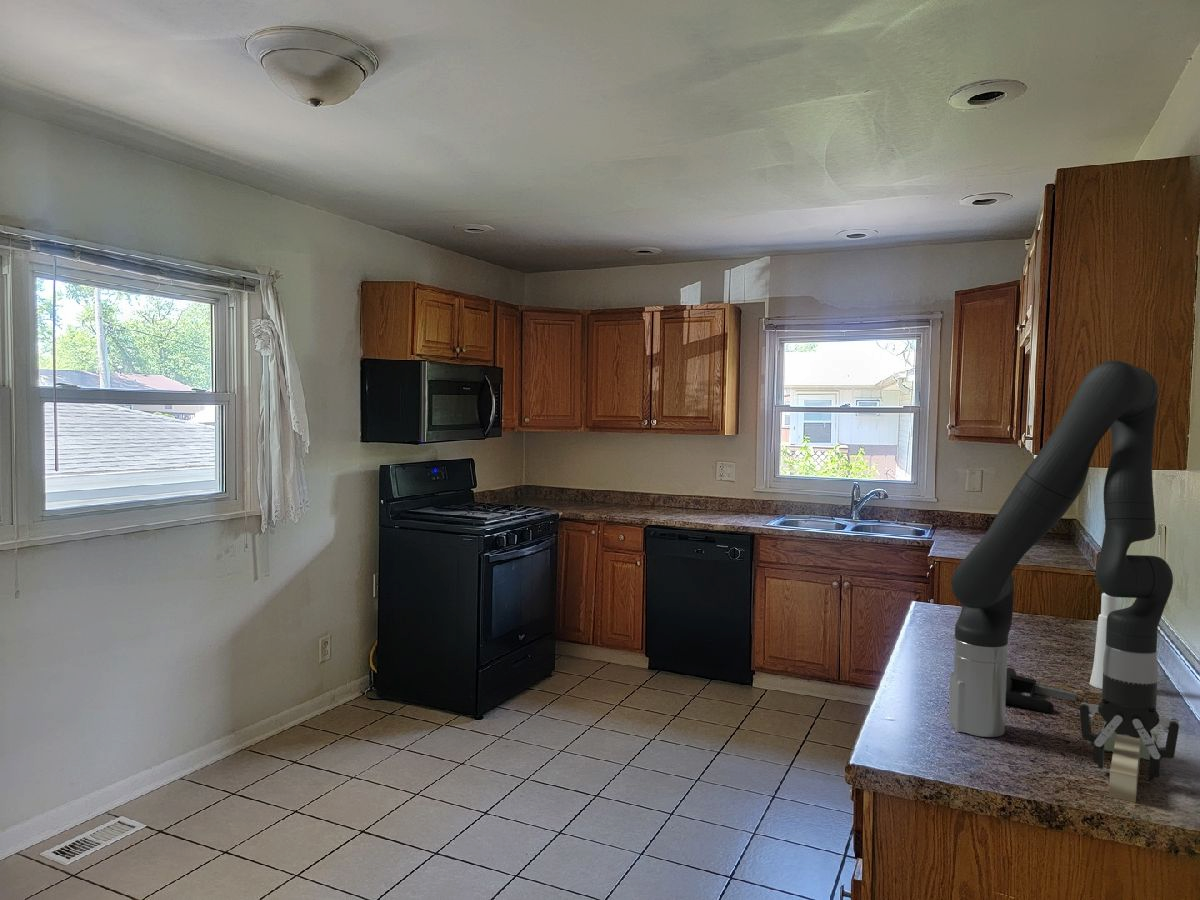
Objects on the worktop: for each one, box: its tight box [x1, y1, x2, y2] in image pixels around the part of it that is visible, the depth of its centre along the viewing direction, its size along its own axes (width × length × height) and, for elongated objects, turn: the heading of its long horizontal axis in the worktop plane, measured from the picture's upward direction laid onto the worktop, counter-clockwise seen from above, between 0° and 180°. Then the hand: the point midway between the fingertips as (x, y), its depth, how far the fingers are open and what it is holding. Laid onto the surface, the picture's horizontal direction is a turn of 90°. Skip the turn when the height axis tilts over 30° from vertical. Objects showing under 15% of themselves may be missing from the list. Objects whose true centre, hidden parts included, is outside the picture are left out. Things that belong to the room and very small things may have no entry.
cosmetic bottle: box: [1089, 592, 1117, 690], centre depth 177 cm, size 6×6×22 cm
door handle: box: [1006, 667, 1078, 714], centre depth 170 cm, size 3×20×16 cm
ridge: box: [1103, 720, 1159, 760], centre depth 142 cm, size 5×8×4 cm, turn 53°
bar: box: [1108, 734, 1141, 804], centre depth 131 cm, size 18×4×4 cm, turn 144°
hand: (1125, 772), depth 131 cm, fingers open, 6 cm apart
